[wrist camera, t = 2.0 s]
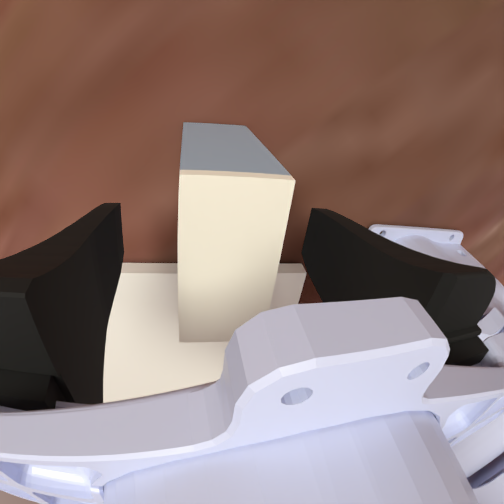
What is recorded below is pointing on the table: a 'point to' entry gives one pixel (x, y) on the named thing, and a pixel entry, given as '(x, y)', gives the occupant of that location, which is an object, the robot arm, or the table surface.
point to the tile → (166, 333)
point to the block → (227, 229)
